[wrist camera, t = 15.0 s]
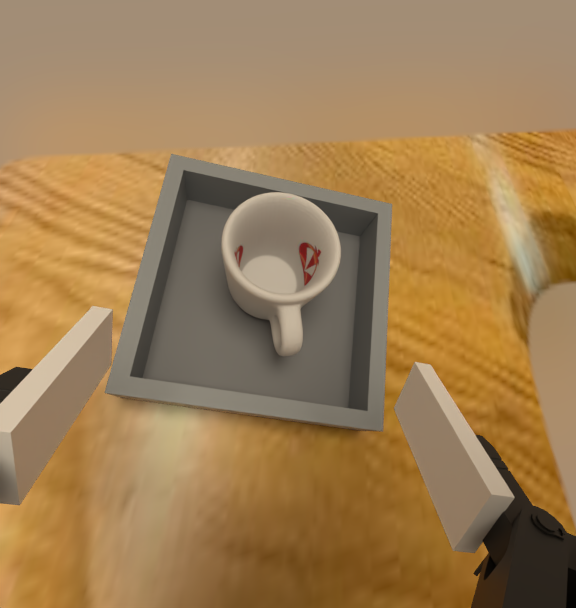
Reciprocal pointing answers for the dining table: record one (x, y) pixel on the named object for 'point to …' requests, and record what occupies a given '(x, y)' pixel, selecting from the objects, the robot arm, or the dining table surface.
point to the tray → (244, 327)
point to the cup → (279, 261)
